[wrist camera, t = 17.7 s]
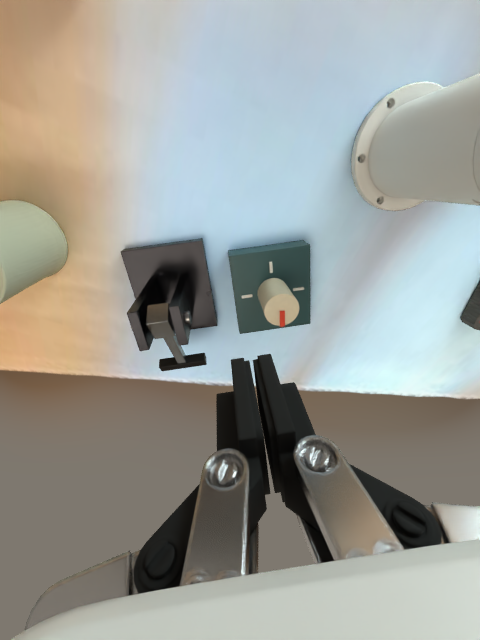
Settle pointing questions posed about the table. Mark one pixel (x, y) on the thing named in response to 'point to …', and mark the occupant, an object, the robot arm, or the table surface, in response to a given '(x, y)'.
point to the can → (28, 247)
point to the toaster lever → (170, 339)
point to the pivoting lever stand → (170, 287)
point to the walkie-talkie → (473, 310)
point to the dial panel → (265, 264)
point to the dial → (277, 302)
